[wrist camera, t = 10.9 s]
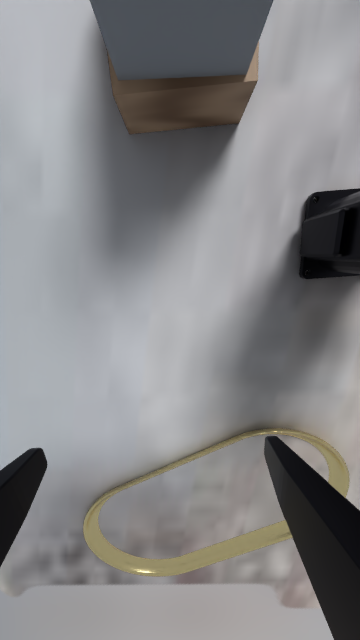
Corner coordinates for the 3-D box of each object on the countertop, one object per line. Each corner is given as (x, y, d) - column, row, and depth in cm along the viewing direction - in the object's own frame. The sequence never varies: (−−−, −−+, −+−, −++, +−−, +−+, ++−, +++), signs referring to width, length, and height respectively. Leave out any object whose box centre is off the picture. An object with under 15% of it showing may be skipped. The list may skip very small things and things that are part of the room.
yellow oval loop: (59, 503, 27) (52, 518, 26) (309, 394, 22) (319, 404, 20) (137, 574, 32) (134, 589, 31) (357, 498, 27) (368, 513, 25)
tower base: (238, -35, 13) (264, -162, 9) (238, 125, 15) (257, 80, 11) (111, -19, 13) (81, -137, 9) (130, 136, 15) (113, 95, 11)
